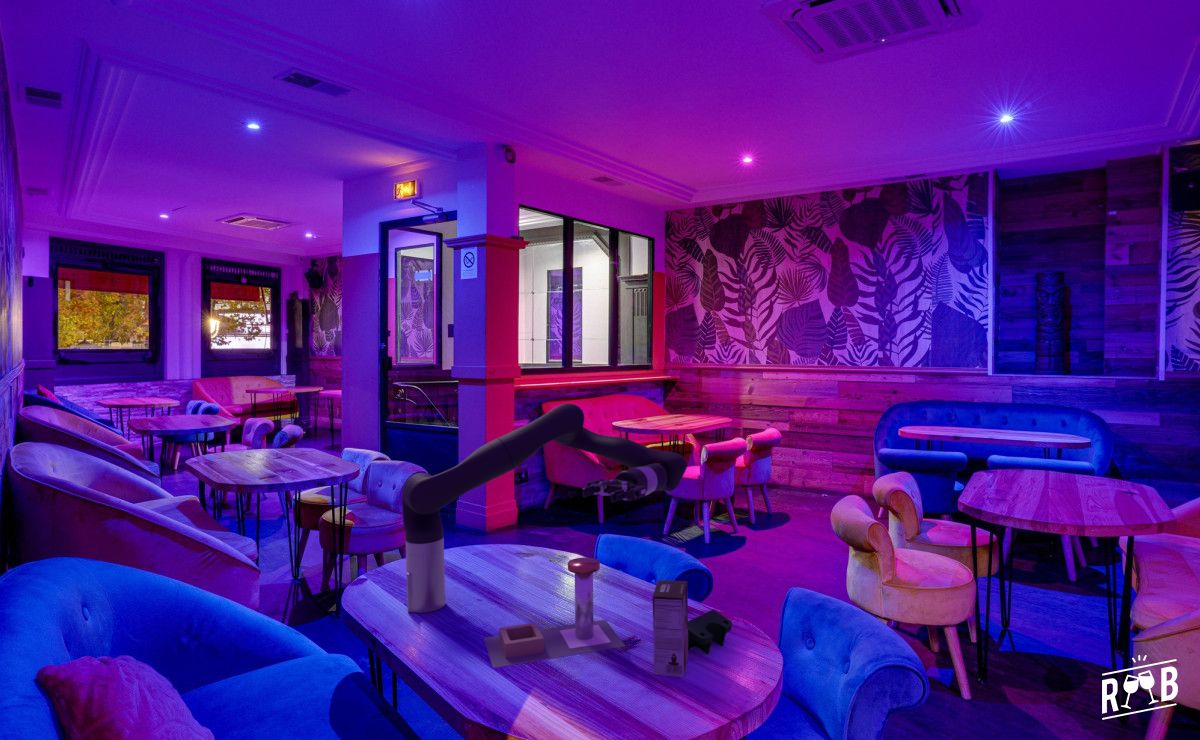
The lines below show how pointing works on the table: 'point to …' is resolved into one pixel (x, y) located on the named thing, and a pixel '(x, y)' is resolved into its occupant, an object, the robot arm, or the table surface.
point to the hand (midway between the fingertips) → (597, 495)
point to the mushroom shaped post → (584, 595)
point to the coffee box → (670, 628)
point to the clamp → (708, 630)
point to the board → (546, 643)
